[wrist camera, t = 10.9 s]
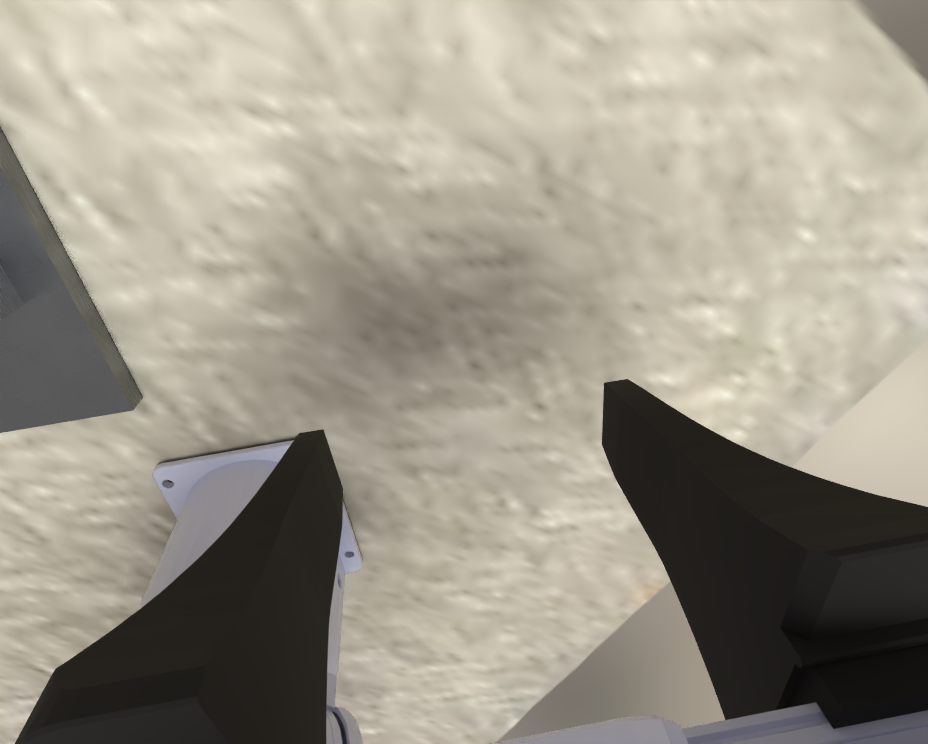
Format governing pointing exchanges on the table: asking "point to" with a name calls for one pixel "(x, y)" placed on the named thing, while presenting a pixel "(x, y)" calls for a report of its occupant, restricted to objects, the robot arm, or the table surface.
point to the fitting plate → (48, 322)
